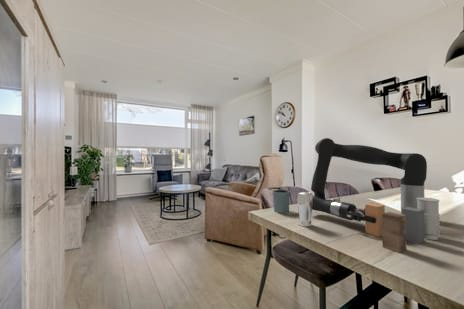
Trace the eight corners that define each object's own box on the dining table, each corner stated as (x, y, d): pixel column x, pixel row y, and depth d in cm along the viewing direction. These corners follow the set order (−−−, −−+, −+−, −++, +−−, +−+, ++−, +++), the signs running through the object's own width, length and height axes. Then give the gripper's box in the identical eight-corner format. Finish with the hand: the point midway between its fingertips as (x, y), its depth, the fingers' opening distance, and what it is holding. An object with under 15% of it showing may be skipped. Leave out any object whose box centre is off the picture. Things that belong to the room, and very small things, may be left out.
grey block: (408, 236, 84) (408, 206, 84) (424, 241, 80) (424, 209, 80) (402, 239, 82) (401, 208, 82) (418, 244, 77) (417, 211, 77)
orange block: (372, 230, 91) (371, 202, 92) (385, 234, 87) (384, 205, 87) (365, 232, 89) (365, 204, 89) (378, 236, 85) (377, 206, 85)
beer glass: (295, 222, 103) (294, 192, 103) (309, 222, 104) (308, 191, 104) (301, 227, 96) (300, 194, 96) (315, 226, 97) (315, 194, 97)
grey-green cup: (272, 213, 120) (272, 192, 120) (272, 208, 130) (272, 189, 130) (291, 213, 118) (291, 192, 118) (289, 209, 128) (289, 189, 128)
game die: (337, 217, 124) (348, 203, 124) (336, 215, 117) (347, 200, 117) (324, 207, 129) (334, 194, 129) (321, 205, 123) (332, 191, 122)
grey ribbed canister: (412, 233, 88) (411, 197, 88) (429, 233, 87) (428, 197, 87) (426, 240, 81) (426, 201, 81) (445, 240, 81) (444, 200, 81)
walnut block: (390, 244, 78) (389, 211, 78) (406, 249, 73) (405, 215, 73) (382, 247, 75) (382, 213, 75) (398, 252, 71) (398, 217, 71)
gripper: (333, 204, 97) (370, 212, 83) (352, 200, 104) (390, 207, 90) (333, 220, 97) (370, 231, 83) (352, 215, 104) (390, 225, 89)
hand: (380, 219), depth 86 cm, fingers open, 7 cm apart
